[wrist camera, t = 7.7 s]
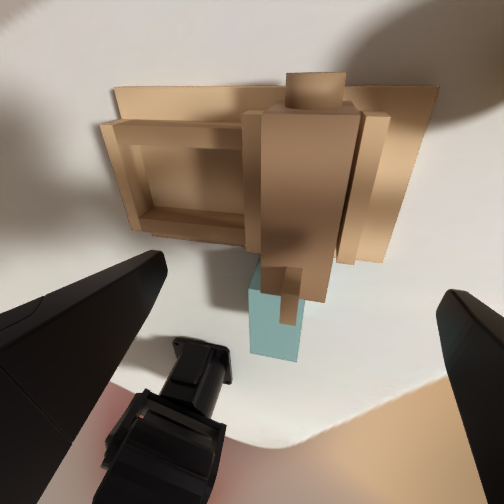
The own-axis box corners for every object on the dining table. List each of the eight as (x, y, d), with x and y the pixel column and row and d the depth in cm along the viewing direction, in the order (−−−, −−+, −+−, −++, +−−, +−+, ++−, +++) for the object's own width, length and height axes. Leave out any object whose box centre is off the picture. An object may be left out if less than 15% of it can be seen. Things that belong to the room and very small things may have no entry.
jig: (380, 254, 19) (387, 282, 16) (158, 229, 22) (137, 249, 20) (432, 85, 13) (456, 89, 11) (124, 86, 16) (88, 90, 14)
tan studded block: (325, 251, 18) (324, 332, 13) (274, 245, 19) (252, 320, 13) (356, 71, 13) (378, 75, 7) (281, 72, 13) (247, 76, 8)
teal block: (310, 251, 20) (305, 297, 16) (302, 312, 24) (296, 362, 20) (263, 245, 21) (248, 288, 17) (263, 305, 24) (250, 353, 20)
